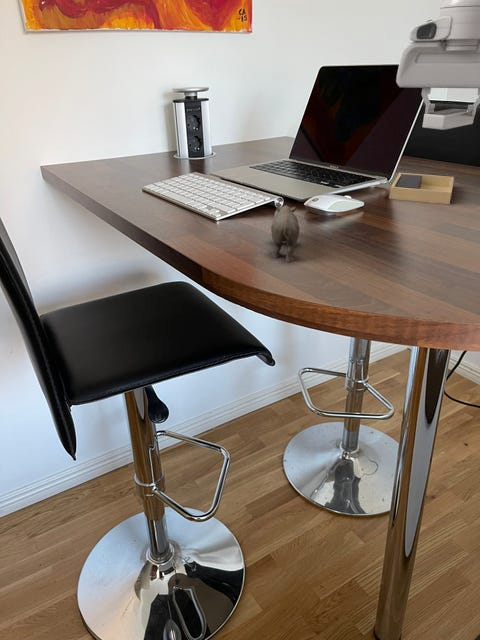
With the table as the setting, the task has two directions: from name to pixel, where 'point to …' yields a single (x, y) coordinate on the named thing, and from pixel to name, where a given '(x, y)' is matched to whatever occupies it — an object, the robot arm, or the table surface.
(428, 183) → the tray
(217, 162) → the table surface
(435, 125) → the multiport hub
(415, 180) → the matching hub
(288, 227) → the rhino figurine
